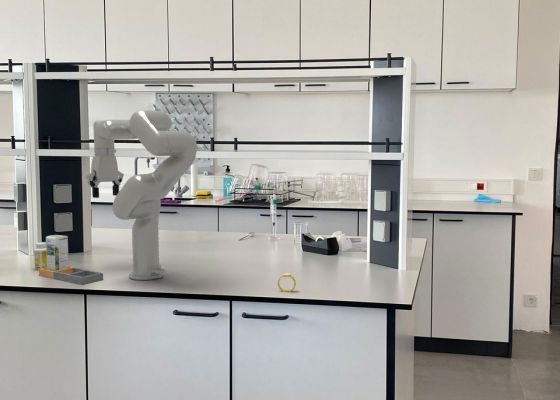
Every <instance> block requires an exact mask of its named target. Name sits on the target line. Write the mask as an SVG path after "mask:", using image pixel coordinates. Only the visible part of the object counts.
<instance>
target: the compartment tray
mask: <svg viewBox="0 0 560 400" xmlns="http://www.w3.org/2000/svg"><path fill="white" fill-rule="evenodd" d="M38 275H39V276H40V277H45V278H50V279H54V280H58V281H59V280H60V281H63V282H68V283H71V284H76V285H86V284H87V285H88V284H91V283H96V282H99V281H103V280H104V273H103V272H100V271H94V270H90V269H85V268H79V267H75V266H69V268H67V269H62V270H57V271H51V270H47V267H45V268H40V269H39V270H38Z"/></svg>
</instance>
